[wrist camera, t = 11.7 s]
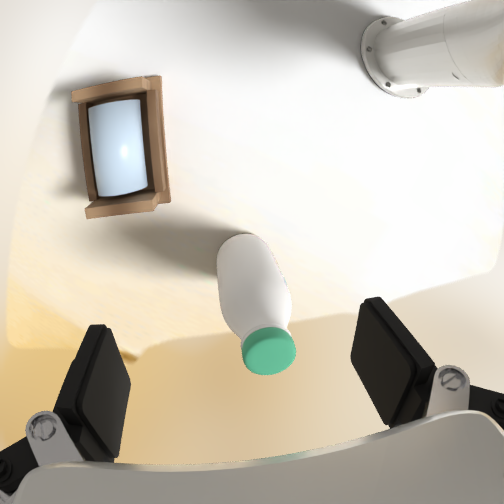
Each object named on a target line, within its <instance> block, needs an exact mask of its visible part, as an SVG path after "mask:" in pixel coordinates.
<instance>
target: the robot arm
mask: <svg viewBox="0 0 504 504" xmlns="http://www.w3.org/2000/svg"><path fill="white" fill-rule="evenodd" d="M367 50H368V51H367ZM361 53H362V58H363V61H364V64H365V67H366V69H367V71H368V73H369V74H370V76H371V77H372V79H373V80H374V81H375V83H376V84H377V85H378V86H379V87H380V88H382V89H383V90H384V91H386V92H387V93H389V94H391V95H393V96H396V97H400V98H415V97H418V96H420V95H422V94H424V93H425V92H426V91H427V90H428V89H429V87H499V86H502V85H504V0H470V1H466V2H463V3H459V4H455V5H452V6H448V7H445V8H441V9H438V10H435V11H432V12H428V13H425V14H422V15H419V16H416V17H414V18H411V19H408V20H402V19H399V18H395V17H384V18H380V19H378V20H376V21H374V22H372V23H371V24H370V25H369V26H368V27H367V28H366V30H365V32H364V34H363V36H362V41H361ZM351 362H352V364H353V366H354V368H355V370H356V371H357V373H358V375H359V377H360V379H361V381H362V383H363V385H364V387H365V389H366V390H367V392H368V394H369V396H370V398H371V400H372V402H373V404H374V406H375V407H376V409H377V411H378V413H379V415H380V417H381V419H382V421H383V423H384V424H385V425H389V427H390V429H388V430H385V431H382V432H378V433H375V434H372V435H368V436H365V437H362V438H358V439H355V440H351V441H347V442H344V443H339V444H335V445H331V446H327V447H322V448H318V449H313V450H308V451H303V452H298V453H293V454H287V455H282V456H275V457H269V458H261V459H253V460H245V461H235V462H224V463H209V464H189V465H188V464H186V465H153V464H124V463H114V458H117V457H118V456H119V451H120V444H121V437H122V431H123V425H124V419H125V414H126V408H127V402H128V397H129V392H130V386H131V383H130V378H129V375H128V373H127V370H126V368H125V365H124V363H123V360H122V358H121V355H120V352H119V350H118V347H117V344H116V342H115V339H114V336H113V333H112V331H111V329H110V328H107V327H106V325H104V324H100V325H90V326H89V328H88V330H87V332H86V334H85V337H84V339H83V341H82V343H81V346H80V348H79V350H78V352H77V355H76V357H75V359H74V360H73V361H72V363H71V365H70V368H69V371H68V373H67V375H66V378H65V380H64V383H63V385H62V388H61V390H60V394H59V396H58V399H57V401H56V404H55V407H54V409H53V412H50V411H41V412H38V413H36V414H35V415H33V416H32V417H31V418H30V419H29V421H28V423H27V425H26V430H25V431H26V437H24V438H23V439H21V440H19V441H18V442H16V443H14V444H12V445H11V446H9V447H7V448H6V449H4V450H2V451H0V504H504V394H502V393H498V392H494V391H491V390H487V389H483V388H480V387H476V386H473V385H470V380H469V377H468V375H467V374H466V373H465V372H464V370H462V369H461V368H459V367H456V366H452V365H446V366H442V367H440V368H439V369H438V368H437V367H436V366H435V363H434V362H433V361H432V359H431V358H430V357H429V356H428V354H427V353H426V352H425V350H424V349H423V348H422V346H421V345H420V344H419V343H418V342H417V340H416V339H415V338H414V337H413V335H412V334H411V333H410V332H409V330H408V329H407V328H406V327H405V326H404V325H403V323H402V322H401V321H400V320H399V318H398V317H397V316H396V315H395V314H394V312H393V311H392V310H391V309H390V308H389V306H388V305H387V304H386V303H385V302H384V301H383V299H382V298H381V297H374V298H368V299H365V301H364V303H362V304H361V305H360V310H359V315H358V321H357V326H356V331H355V336H354V341H353V347H352V351H351Z"/></svg>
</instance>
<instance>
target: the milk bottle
mask: <svg viewBox="0 0 504 504" xmlns="http://www.w3.org/2000/svg"><path fill="white" fill-rule="evenodd" d="M217 278H218V290H219V300H220V306H221V311H222V314H223V317H224V319H225V321H226V323H227V325H228V326H229V328H230V329H231V330H232V331H233V332H234V333H235V334H236V335H237V336H238V337H239V338H240V339H241V340H242V341H241V349H242V357H243V361H244V364H245V365H246V367H247V368H248V369H249V370H250V371H251V372H253V373H256V374H260V375H272V374H276V373H279V372H281V371H283V370H285V369H286V368H287V367H289V366H290V365H291V364H292V362H293V361H294V359H295V356H296V348H295V345H294V341H293V339H292V337H291V334H290V332H289V331H288V329H287V325H288V322H289V319H290V315H291V297H290V292H289V289H288V286H287V284H286V281H285V279H284V277H283V274H282V272H281V270H280V268H279V266H278V263H277V261H276V259H275V257H274V255H273V253H272V251H271V249H270V247H269V245H268V244H267V243H266V242H265V241H264V240H263V239H262V238H260V237H258V236H256V235H252V234H239V235H236V236H233V237H231V238H229V239H228V240H227V241H225V242H224V243H223V245H222V246H221V247H220V249H219V251H218V254H217Z"/></svg>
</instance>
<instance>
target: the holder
mask: <svg viewBox="0 0 504 504" xmlns="http://www.w3.org/2000/svg"><path fill="white" fill-rule="evenodd" d="M71 95H72V102H78V103H82V104H78V109H79V123H80V135H81V145H82V154H83V162H84V169H85V177H86V183H87V190H88V196H89V201H94V202H93V203H91V204H90V205H89V206H88V207H86V208H85V213H86V218H87V219H91V218H99V217H106V216H114V215H123V214H131V213H140V212H149V211H154V209H155V208H156V206H157V204H162V203H170V202H171V197H170V187H169V178H168V167H167V156H166V145H165V131H164V117H163V99H162V77H161V76H154V77H147V78H144V77H142V76H141V77H135V78H129V79H124V80H118V81H113V82H109V83H104V84H100V85H95V86H91V87H87V88H83V89H79V90H75V91H71ZM123 100H140V109H141V123H142V135H143V146H144V156H145V166H146V175H147V183H148V186H147V187H145V188H143V189H141V190H138V191H135V192H131V193H127V194H122V195H116V196H99V195H98V190H97V184H96V177H95V170H94V162H93V154H92V146H91V136H90V125H89V112H88V109H89V108H91V107H93V106H97V105H101V104H105V103H110V102H115V101H123Z"/></svg>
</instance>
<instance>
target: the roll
mask: <svg viewBox="0 0 504 504" xmlns="http://www.w3.org/2000/svg"><path fill="white" fill-rule="evenodd" d="M88 112H89V125H90V136H91V146H92V154H93V162H94V170H95V177H96V184H97V190H98V195H99V196H116V195H122V194H127V193H131V192H135V191H138V190H141V189H143V188H145V187H147V186H148V183H147V175H146V166H145V156H144V146H143V135H142V123H141V109H140V100H123V101H115V102H110V103H105V104H101V105H97V106H93V107H91V108H89V109H88Z"/></svg>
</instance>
